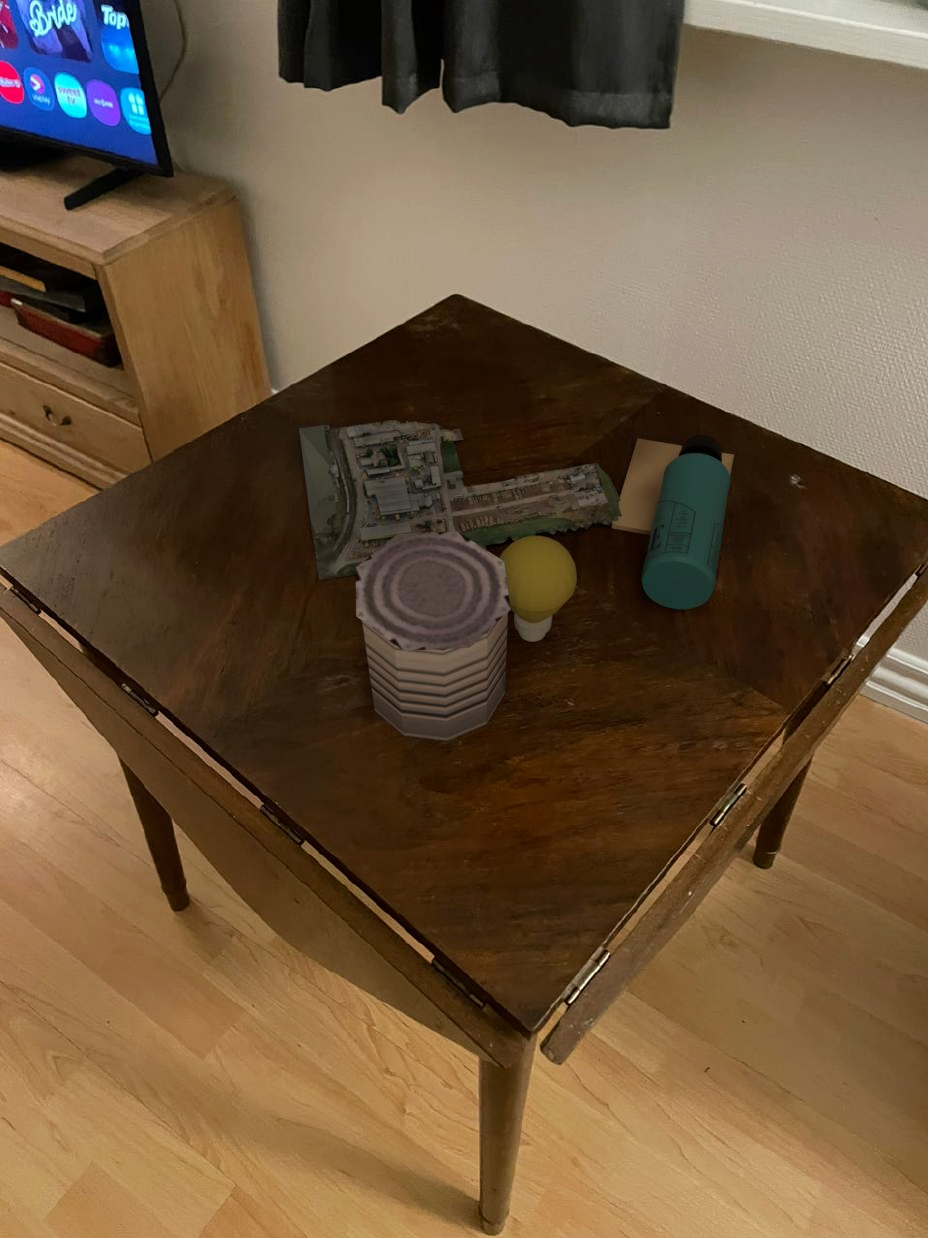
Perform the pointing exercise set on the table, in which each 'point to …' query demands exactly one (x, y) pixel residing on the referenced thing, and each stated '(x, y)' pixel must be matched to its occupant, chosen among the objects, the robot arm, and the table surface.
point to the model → (430, 493)
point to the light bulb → (537, 583)
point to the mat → (647, 484)
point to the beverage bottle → (687, 527)
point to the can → (434, 632)
